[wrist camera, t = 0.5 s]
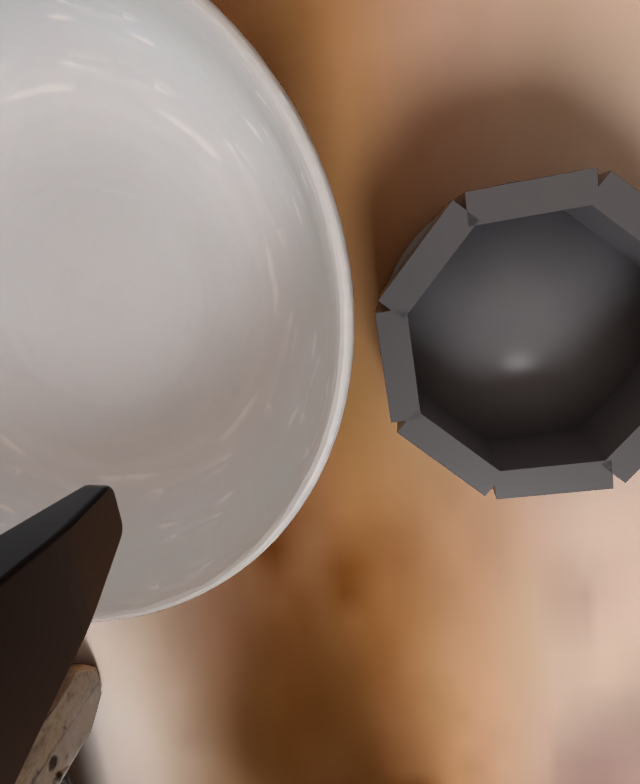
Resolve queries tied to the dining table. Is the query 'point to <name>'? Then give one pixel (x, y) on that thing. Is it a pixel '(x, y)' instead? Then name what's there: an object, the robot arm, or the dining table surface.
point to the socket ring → (521, 336)
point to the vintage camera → (64, 728)
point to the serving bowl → (163, 288)
